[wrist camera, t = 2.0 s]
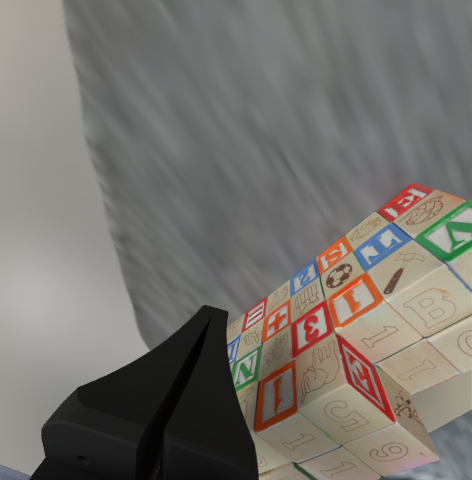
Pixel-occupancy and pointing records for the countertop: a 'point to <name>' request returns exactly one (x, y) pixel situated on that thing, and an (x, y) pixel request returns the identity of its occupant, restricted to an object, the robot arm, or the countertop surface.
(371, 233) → the stack of blocks
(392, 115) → the countertop surface
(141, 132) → the countertop surface
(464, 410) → the mat
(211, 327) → the robot arm
